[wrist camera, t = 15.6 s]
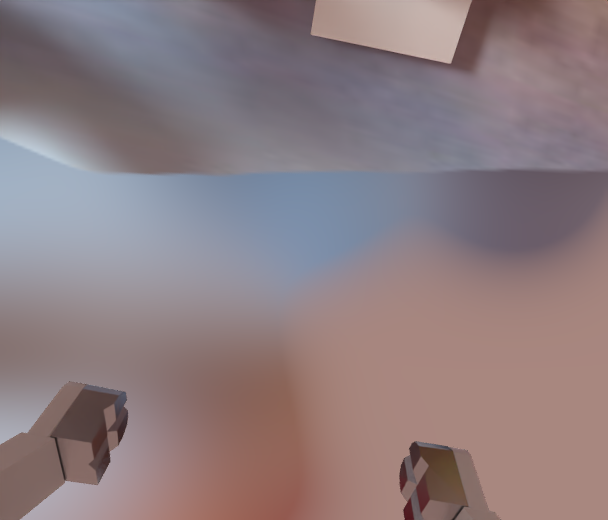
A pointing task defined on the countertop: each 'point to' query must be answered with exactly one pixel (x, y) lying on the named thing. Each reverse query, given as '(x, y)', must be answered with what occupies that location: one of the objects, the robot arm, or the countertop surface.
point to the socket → (394, 25)
